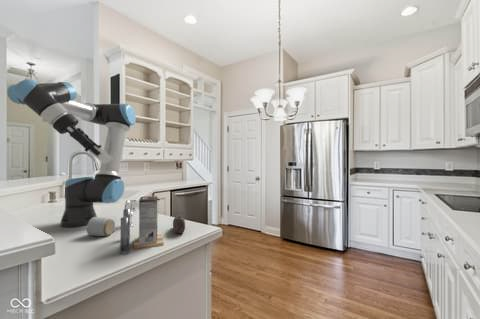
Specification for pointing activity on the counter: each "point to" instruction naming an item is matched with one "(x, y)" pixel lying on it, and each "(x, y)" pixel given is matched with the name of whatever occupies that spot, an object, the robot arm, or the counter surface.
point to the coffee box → (148, 220)
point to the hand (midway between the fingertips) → (109, 161)
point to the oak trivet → (159, 242)
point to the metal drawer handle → (125, 232)
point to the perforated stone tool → (178, 224)
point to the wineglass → (131, 209)
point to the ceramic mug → (100, 226)
